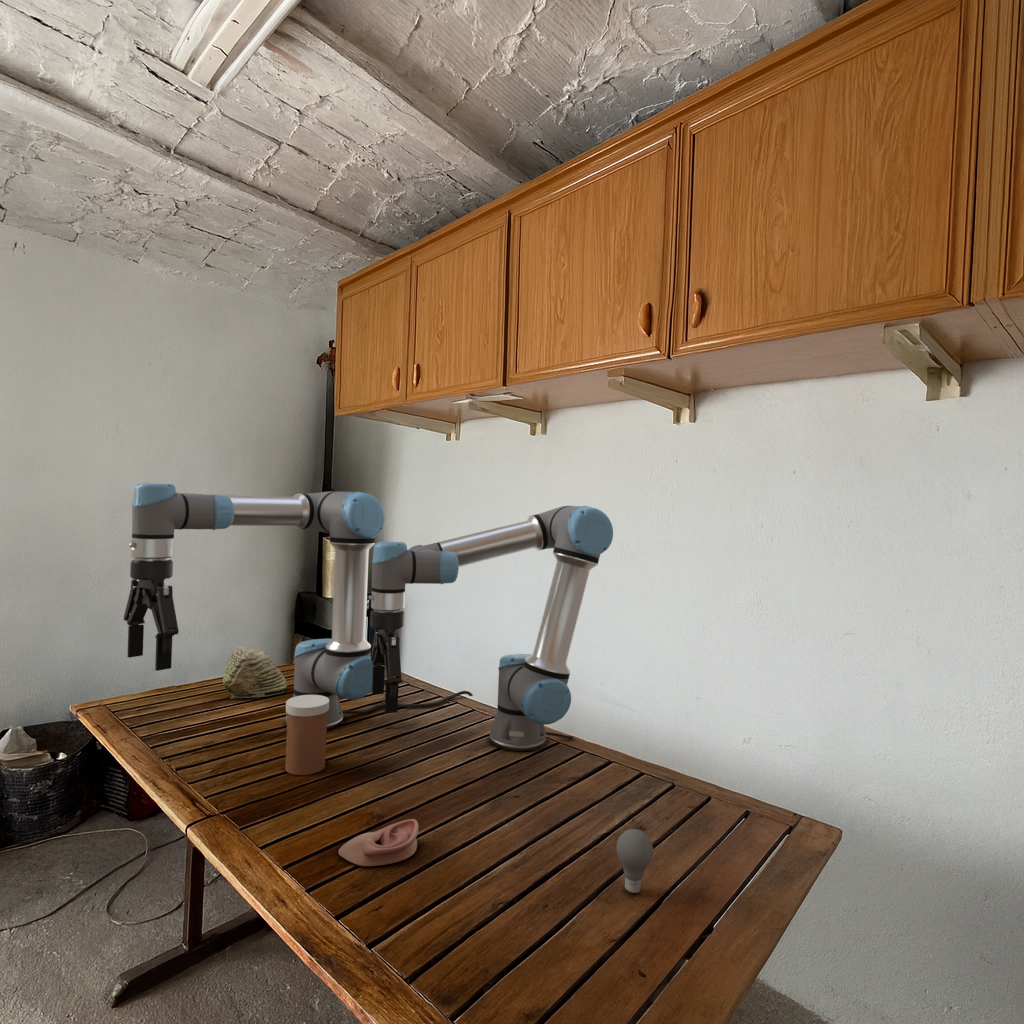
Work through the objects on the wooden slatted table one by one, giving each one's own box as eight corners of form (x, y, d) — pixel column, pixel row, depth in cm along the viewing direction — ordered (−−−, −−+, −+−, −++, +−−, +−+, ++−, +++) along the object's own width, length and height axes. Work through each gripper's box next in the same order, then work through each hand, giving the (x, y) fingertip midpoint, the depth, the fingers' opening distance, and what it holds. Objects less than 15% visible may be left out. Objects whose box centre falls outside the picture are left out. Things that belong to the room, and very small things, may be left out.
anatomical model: (330, 838, 110) (359, 807, 121) (329, 861, 110) (358, 828, 121) (402, 850, 107) (425, 817, 119) (401, 873, 108) (424, 838, 119)
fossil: (218, 695, 195) (220, 647, 195) (278, 685, 208) (279, 640, 207) (228, 703, 189) (230, 653, 188) (289, 692, 201) (290, 645, 201)
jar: (316, 776, 143) (318, 710, 143) (278, 773, 144) (280, 707, 144) (331, 760, 152) (333, 698, 152) (295, 757, 153) (297, 695, 153)
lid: (319, 718, 142) (319, 709, 142) (278, 714, 143) (278, 706, 143) (335, 704, 152) (335, 696, 152) (296, 701, 153) (297, 693, 153)
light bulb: (610, 879, 108) (613, 822, 108) (644, 879, 109) (647, 822, 109) (619, 902, 102) (622, 840, 102) (655, 901, 103) (658, 840, 103)
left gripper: (108, 554, 134) (104, 654, 134) (159, 565, 118) (155, 678, 119) (146, 552, 140) (143, 648, 140) (199, 563, 124) (195, 671, 124)
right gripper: (360, 601, 153) (357, 688, 154) (383, 621, 131) (379, 723, 131) (391, 600, 156) (388, 685, 157) (418, 619, 134) (414, 719, 134)
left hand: (148, 662), depth 129 cm, fingers open, 13 cm apart
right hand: (384, 703), depth 144 cm, fingers open, 13 cm apart
